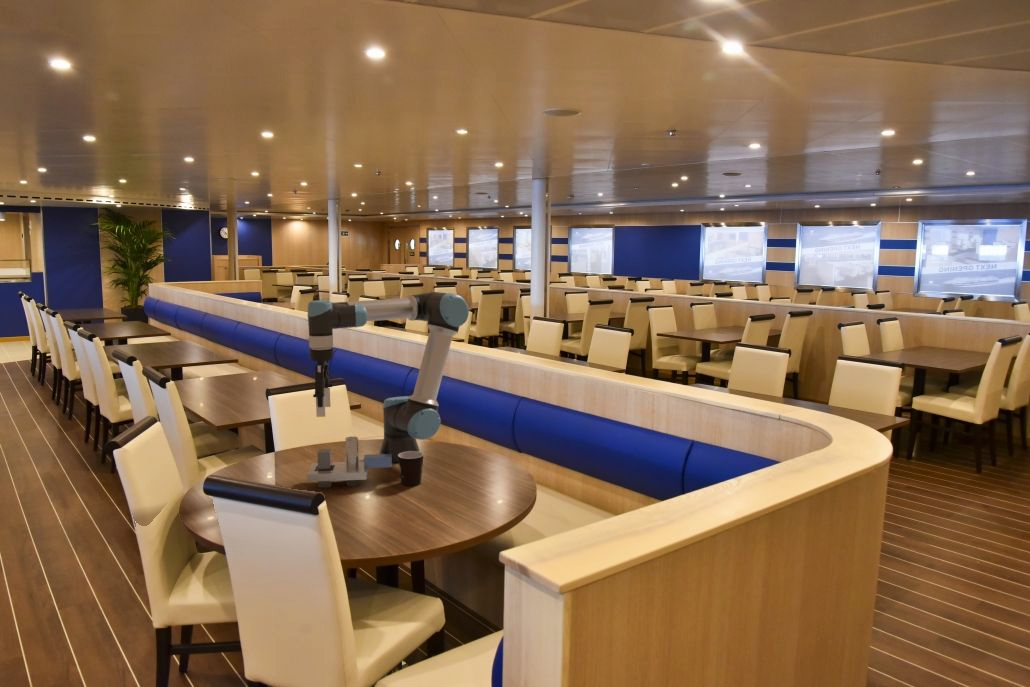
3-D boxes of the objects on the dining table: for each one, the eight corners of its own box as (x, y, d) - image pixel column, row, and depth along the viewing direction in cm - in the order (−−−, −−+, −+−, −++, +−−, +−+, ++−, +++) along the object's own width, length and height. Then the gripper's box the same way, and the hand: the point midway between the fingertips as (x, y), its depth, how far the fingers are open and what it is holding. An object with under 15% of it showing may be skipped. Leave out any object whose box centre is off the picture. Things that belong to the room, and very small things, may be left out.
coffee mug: (419, 488, 232) (418, 459, 231) (394, 486, 234) (394, 457, 233) (430, 477, 244) (430, 449, 242) (406, 475, 245) (406, 448, 244)
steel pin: (320, 483, 236) (319, 449, 235) (332, 483, 237) (331, 448, 235) (318, 487, 232) (317, 452, 231) (330, 487, 233) (329, 452, 231)
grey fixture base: (392, 477, 244) (391, 432, 241) (391, 488, 232) (390, 441, 230) (312, 480, 240) (311, 434, 238) (307, 492, 228) (305, 444, 226)
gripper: (314, 342, 240) (317, 403, 243) (303, 354, 216) (306, 421, 219) (337, 342, 241) (339, 402, 244) (328, 353, 217) (331, 420, 220)
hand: (323, 411), depth 231 cm, fingers open, 13 cm apart
